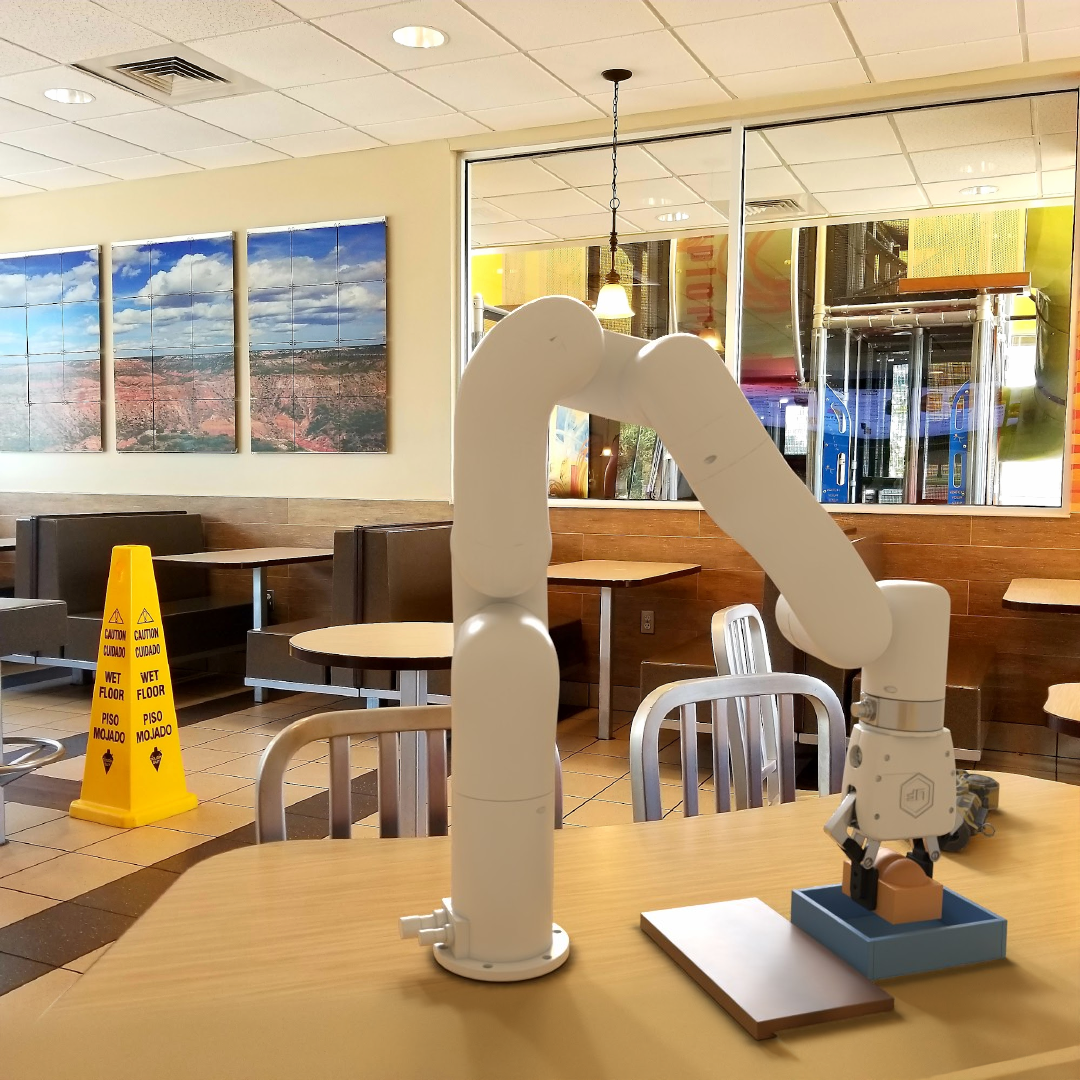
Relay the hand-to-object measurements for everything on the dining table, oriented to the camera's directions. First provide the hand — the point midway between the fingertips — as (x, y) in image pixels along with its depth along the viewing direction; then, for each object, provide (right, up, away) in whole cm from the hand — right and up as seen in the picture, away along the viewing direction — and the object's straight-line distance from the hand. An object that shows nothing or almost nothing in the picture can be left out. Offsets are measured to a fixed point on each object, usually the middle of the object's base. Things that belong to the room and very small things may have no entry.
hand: (890, 899), depth 102 cm
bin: (0, -4, 0) cm, 5 cm away
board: (-14, -5, -5) cm, 15 cm away
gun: (+19, -2, +39) cm, 43 cm away
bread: (0, 0, 0) cm, 0 cm away
